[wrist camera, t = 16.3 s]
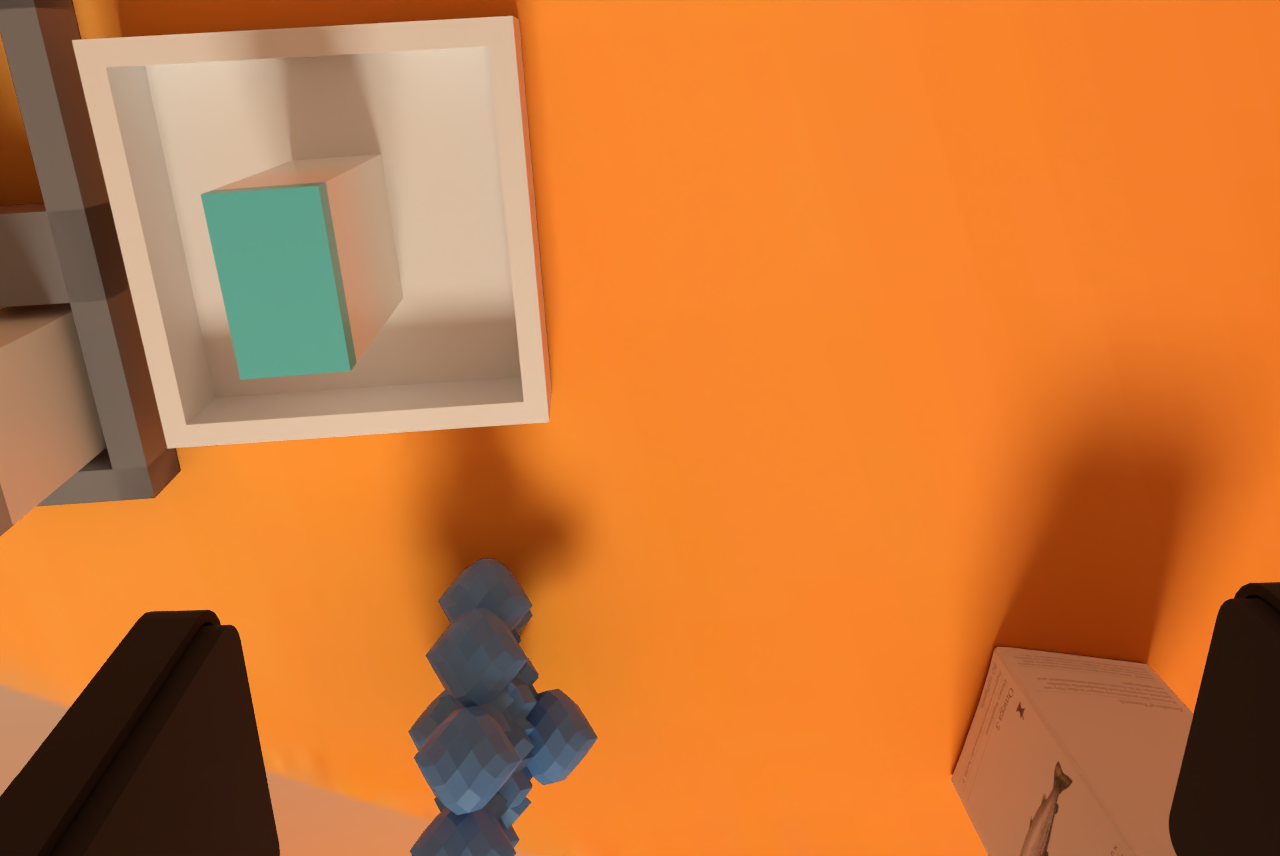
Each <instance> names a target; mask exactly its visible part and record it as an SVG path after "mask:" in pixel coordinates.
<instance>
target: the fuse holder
mask: <svg viewBox="0 0 1280 856" xmlns="http://www.w3.org/2000/svg"><path fill="white" fill-rule="evenodd" d="M0 33H1V37H2V41H3V45H4V49H5V53H6V56H7V60H8V64H9V68H10V72H11V76H12V80H13V84H14V88H15V91H16V95H17V99H18V103H19V107H20V111H21V115H22V119H23V123H24V126H25V130H26V134H27V138H28V142H29V146H30V150H31V154H32V158H33V162H34V165H35V169H36V173H37V177H38V181H39V185H40V189H41V193H42V197H43V200H44V203H38V204H21V205H5V206H0V307H13V306H28V305H44V304H60V303H70V306H71V309H72V313H73V317H74V321H75V325H76V329H77V333H78V337H79V341H80V345H81V348H82V352H83V356H84V360H85V364H86V368H87V372H88V376H89V380H90V383H91V387H92V391H93V395H94V399H95V403H96V407H97V411H98V415H99V419H100V422H101V426H102V430H103V434H104V438H105V442H106V446H107V448H105V449H104V450H103V451H102V452H101V453H99V454H98V455H97V456H96V457H95V458H93V459H92V460H91V461H90V462H89V463H87V464H86V465H85V466H84V467H83V468H81V469H80V470H79V471H78V472H77V473H75V474H74V475H73V476H72V477H71V478H69V479H68V480H67V481H66V482H65V483H63V484H62V485H61V486H60V487H59V488H57V489H56V490H55V491H54V492H53V493H51V494H50V495H49V496H48V497H47V498H45V499H44V500H43V501H42V502H41V503H39V504H38V505H37V506H49V505H63V504H77V503H91V502H105V501H119V500H133V499H148V498H155V497H156V496H157V495H158V494H159V493H160V492H161V491H162V490H163V489H164V488H165V487H166V486H167V485H168V484H169V482H170V481H171V480H172V479H173V478H174V477H175V476H176V475H177V474H178V473H179V472H180V466H179V462H178V458H177V453H176V449H175V448H168V449H167V445H166V440H165V436H164V432H163V428H162V423H161V419H160V415H159V411H158V406H157V402H156V398H155V393H154V389H153V385H152V381H151V376H150V372H149V368H148V364H147V359H146V355H145V351H144V346H143V342H142V338H141V334H140V329H139V325H138V321H137V317H136V312H135V308H134V304H133V300H132V295H131V291H130V287H129V282H128V278H127V274H126V270H125V265H124V261H123V257H122V253H121V248H120V244H119V240H118V235H117V231H116V227H115V223H114V218H113V214H112V210H111V206H110V201H109V197H108V193H107V189H106V184H105V180H104V176H103V171H102V167H101V163H100V159H99V154H98V150H97V146H96V142H95V137H94V133H93V129H92V125H91V120H90V116H89V112H88V107H87V103H86V99H85V95H84V90H83V86H82V82H81V78H80V73H79V69H78V65H77V60H76V56H75V52H74V48H73V43H72V40H81V38H80V34H79V29H78V25H77V21H76V16H75V12H74V8H73V3H72V0H0Z"/></svg>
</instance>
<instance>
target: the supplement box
mask: <svg viewBox="0 0 1280 856" xmlns="http://www.w3.org/2000/svg"><path fill="white" fill-rule="evenodd" d="M1193 715H1194V714H1193V713H1192V712H1191V711H1190V710H1189V709H1188V707H1187V706H1186V705H1185V704H1184V703H1183V702H1182V701H1181V700H1180V699H1179V698H1178V697H1177V695H1176V694H1175V693H1174V692H1173V691H1172V690H1171V689H1170V688H1169V687H1168V686H1167V684H1166V683H1165V682H1164V681H1163V680H1162V679H1161V678H1160V677H1159V676H1158V675H1157V674H1156V673H1155V671H1154V670H1153V669H1152V668H1151V667H1150V666H1149V665H1148V664H1142V663H1135V662H1127V661H1120V660H1112V659H1103V658H1095V657H1088V656H1078V655H1071V654H1064V653H1055V652H1046V651H1038V650H1028V649H1021V648H1012V647H996V648H995V650H994V652H993V656H992V660H991V664H990V668H989V671H988V675H987V678H986V682H985V685H984V688H983V692H982V695H981V698H980V701H979V704H978V707H977V710H976V713H975V716H974V719H973V722H972V724H971V727H970V730H969V733H968V736H967V738H966V741H965V744H964V747H963V750H962V753H961V755H960V758H959V761H958V763H957V766H956V768H955V771H954V773H953V776H952V783H953V785H954V787H955V789H956V791H957V793H958V795H959V797H960V799H961V801H962V803H963V805H964V807H965V809H966V811H967V813H968V815H969V817H970V819H971V821H972V823H973V825H974V827H975V829H976V831H977V833H978V835H979V837H980V839H981V841H982V843H983V845H984V847H985V849H986V851H987V853H988V855H989V856H1177V855H1176V853H1175V851H1174V848H1173V845H1172V843H1171V838H1170V834H1169V814H1170V810H1171V806H1172V802H1173V797H1174V793H1175V789H1176V785H1177V781H1178V777H1179V773H1180V768H1181V764H1182V760H1183V756H1184V752H1185V748H1186V744H1187V739H1188V735H1189V731H1190V727H1191V723H1192V719H1193Z"/></svg>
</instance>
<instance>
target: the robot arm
mask: <svg viewBox="0 0 1280 856" xmlns="http://www.w3.org/2000/svg"><path fill="white" fill-rule="evenodd" d="M1169 834H1170V838H1171V843H1172V845H1173V848H1174V851H1175V853H1176V855H1177V856H1280V582H1275V583H1249V584H1247V585H1244V586H1242V587H1241V588H1240V590H1239V591H1238V592H1237V593H1236V595H1235V597H1234V599H1229V600H1227V601H1225V602H1224V603H1223V604H1222V606H1221V607H1220V610H1219V612H1218V615H1217V619H1216V623H1215V627H1214V632H1213V636H1212V640H1211V644H1210V648H1209V652H1208V656H1207V661H1206V665H1205V669H1204V673H1203V677H1202V681H1201V686H1200V690H1199V694H1198V698H1197V702H1196V706H1195V710H1194V715H1193V719H1192V723H1191V727H1190V731H1189V735H1188V739H1187V744H1186V748H1185V752H1184V756H1183V760H1182V764H1181V768H1180V773H1179V777H1178V781H1177V785H1176V789H1175V793H1174V797H1173V802H1172V806H1171V810H1170V814H1169ZM0 856H280V850H279V841H278V836H277V831H276V825H275V820H274V815H273V810H272V804H271V799H270V794H269V789H268V783H267V778H266V772H265V767H264V762H263V757H262V751H261V746H260V741H259V735H258V730H257V725H256V720H255V714H254V709H253V704H252V698H251V693H250V688H249V683H248V677H247V672H246V667H245V661H244V656H243V651H242V645H241V640H240V637H239V633H238V631H237V629H236V628H235V627H234V626H232V625H221V624H220V621H219V619H218V617H217V616H216V614H215V613H214V612H212V611H210V610H193V611H154V612H148V613H145V614H144V615H143V616H142V617H140V618H139V619H138V621H137V622H136V623H135V625H134V626H133V627H132V628H131V630H130V631H129V632H128V634H127V635H126V636H125V638H124V639H123V640H122V641H121V643H120V644H119V645H118V647H117V648H116V649H115V650H114V652H113V653H112V654H111V656H110V657H109V658H108V659H107V661H106V662H105V663H104V665H103V666H102V667H101V668H100V670H99V671H98V672H97V674H96V675H95V676H94V677H93V679H92V680H91V681H90V683H89V684H88V685H87V687H86V688H85V689H84V690H83V692H82V693H81V694H80V696H79V697H78V698H77V699H76V701H75V702H74V703H73V705H72V706H71V707H70V708H69V710H68V711H67V712H66V714H65V715H64V716H63V717H62V719H61V720H60V721H59V723H58V724H57V725H56V727H55V728H54V729H53V730H52V732H51V733H50V734H49V736H48V737H47V738H46V739H45V741H44V742H43V743H42V745H41V746H40V747H39V749H38V750H37V751H36V752H35V754H34V755H33V756H32V758H31V759H30V760H29V761H28V763H27V764H26V765H25V767H24V768H23V769H22V770H21V772H20V773H19V774H18V775H17V776H16V777H15V778H14V780H13V781H12V782H11V784H10V785H9V786H8V788H7V789H6V790H5V792H4V793H3V794H2V795H1V796H0Z"/></svg>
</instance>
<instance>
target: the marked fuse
mask: <svg viewBox="0 0 1280 856" xmlns="http://www.w3.org/2000/svg"><path fill="white" fill-rule="evenodd" d="M201 199H202V203H203V208H204V213H205V217H206V222H207V227H208V231H209V236H210V241H211V245H212V250H213V255H214V259H215V264H216V269H217V273H218V278H219V282H220V287H221V292H222V296H223V301H224V306H225V310H226V315H227V320H228V324H229V329H230V334H231V338H232V343H233V348H234V352H235V357H236V362H237V366H238V371H239V375H240V380H246V379H259V378H271V377H284V376H297V375H309V374H322V373H335V372H347V371H351V370H352V369H353V367H354V366H355V364H356V363H357V362H358V360H359V359H360V358H361V356H362V355H363V353H364V352H365V351H366V349H367V348H368V346H369V345H370V344H371V342H372V341H373V340H374V338H375V337H376V335H377V334H378V333H379V331H380V330H381V328H382V327H383V326H384V324H385V323H386V321H387V320H388V319H389V317H390V316H391V315H392V313H393V312H394V310H395V309H396V308H397V306H398V305H399V303H400V302H401V301H402V299H403V294H402V288H401V281H400V274H399V268H398V261H397V255H396V248H395V241H394V235H393V228H392V221H391V215H390V208H389V202H388V195H387V188H386V182H385V175H384V169H383V162H382V155H381V154H373V155H360V156H346V157H332V158H318V159H304V160H292V161H289V162H286V163H284V164H281V165H278V166H276V167H273V168H270V169H268V170H265V171H262V172H260V173H257V174H254V175H251V176H249V177H246V178H243V179H241V180H238V181H235V182H233V183H230V184H227V185H224V186H222V187H219V188H216V189H214V190H211V191H208V192H206V193H203V194H201Z"/></svg>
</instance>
